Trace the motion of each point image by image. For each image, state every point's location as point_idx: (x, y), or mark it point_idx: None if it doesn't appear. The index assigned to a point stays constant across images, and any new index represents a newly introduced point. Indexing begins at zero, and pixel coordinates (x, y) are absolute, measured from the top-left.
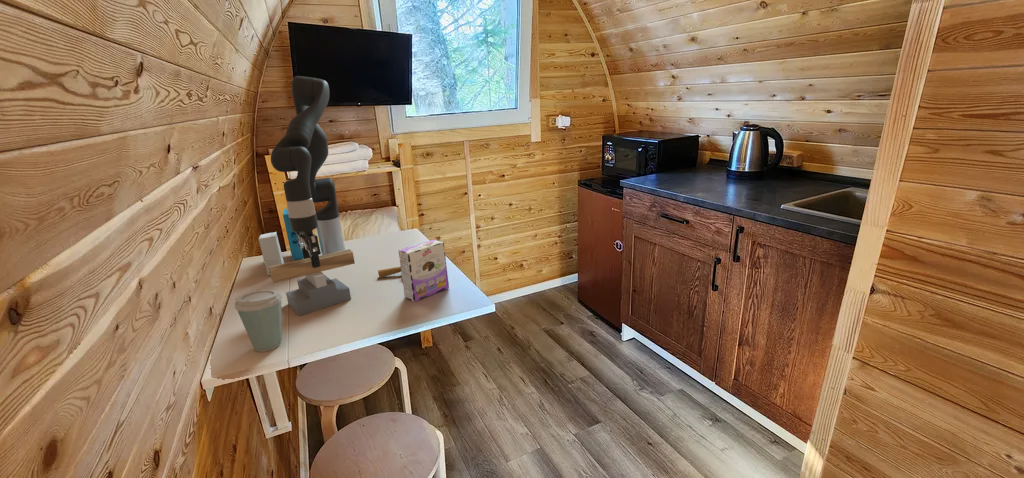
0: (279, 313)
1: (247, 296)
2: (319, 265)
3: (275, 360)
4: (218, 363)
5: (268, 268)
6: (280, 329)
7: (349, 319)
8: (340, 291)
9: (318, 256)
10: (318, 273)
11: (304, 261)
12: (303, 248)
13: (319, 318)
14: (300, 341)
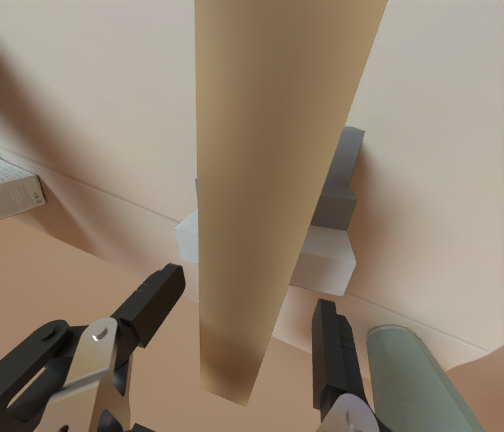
0: (478, 424)
1: None
2: (333, 307)
3: (465, 359)
4: (366, 374)
5: (25, 206)
6: (437, 366)
7: (499, 208)
8: (351, 169)
9: (346, 378)
10: (304, 266)
11: (243, 340)
12: (127, 359)
13: (381, 247)
14: (449, 315)
